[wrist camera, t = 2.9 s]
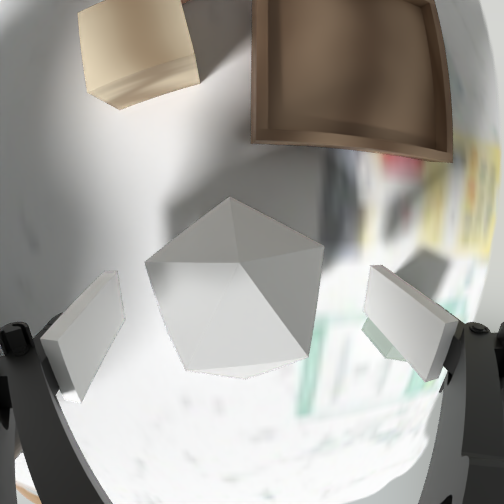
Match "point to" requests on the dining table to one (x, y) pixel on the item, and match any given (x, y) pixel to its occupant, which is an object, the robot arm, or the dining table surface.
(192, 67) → the oak block
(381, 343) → the grey-green block
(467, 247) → the dining table surface
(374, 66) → the walnut tray
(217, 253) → the die
